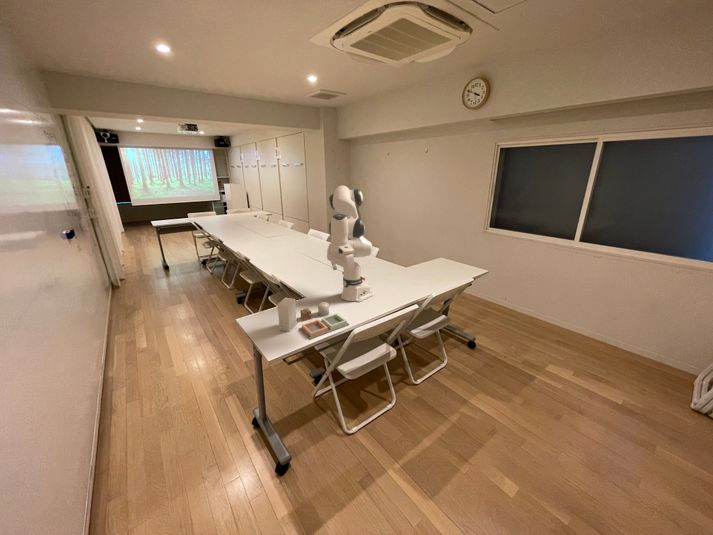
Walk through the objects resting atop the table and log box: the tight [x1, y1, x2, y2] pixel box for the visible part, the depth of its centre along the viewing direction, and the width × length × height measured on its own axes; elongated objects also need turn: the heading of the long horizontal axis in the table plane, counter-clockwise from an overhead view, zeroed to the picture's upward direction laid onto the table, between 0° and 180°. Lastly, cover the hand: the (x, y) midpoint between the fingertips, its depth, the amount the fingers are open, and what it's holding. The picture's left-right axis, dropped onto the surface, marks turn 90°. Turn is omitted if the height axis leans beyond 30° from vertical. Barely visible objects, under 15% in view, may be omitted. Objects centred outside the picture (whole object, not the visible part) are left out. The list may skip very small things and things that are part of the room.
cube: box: [299, 307, 312, 322], centre depth 155 cm, size 4×4×5 cm
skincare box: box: [277, 297, 298, 332], centre depth 145 cm, size 8×7×16 cm
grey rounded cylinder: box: [317, 301, 330, 317], centre depth 161 cm, size 6×6×6 cm
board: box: [299, 313, 350, 340], centre depth 148 cm, size 24×12×3 cm, turn 127°
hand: (339, 272), depth 144 cm, fingers open, 8 cm apart
